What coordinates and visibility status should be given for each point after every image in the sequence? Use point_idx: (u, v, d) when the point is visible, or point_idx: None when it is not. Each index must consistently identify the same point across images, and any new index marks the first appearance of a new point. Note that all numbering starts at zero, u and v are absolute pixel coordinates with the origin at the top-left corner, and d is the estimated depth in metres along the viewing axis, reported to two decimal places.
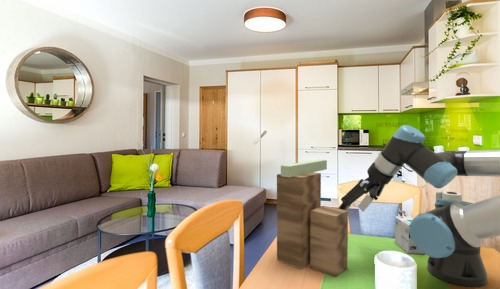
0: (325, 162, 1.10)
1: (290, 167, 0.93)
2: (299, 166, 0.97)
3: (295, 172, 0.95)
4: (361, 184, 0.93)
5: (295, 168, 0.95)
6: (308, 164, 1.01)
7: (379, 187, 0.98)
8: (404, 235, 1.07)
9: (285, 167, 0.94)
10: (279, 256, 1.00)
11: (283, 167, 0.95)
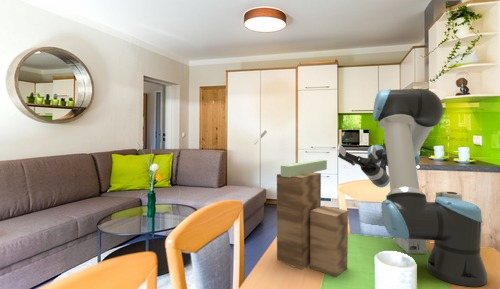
0: (325, 162, 1.10)
1: (290, 167, 0.93)
2: (299, 166, 0.97)
3: (295, 172, 0.95)
4: None
5: (295, 168, 0.95)
6: (308, 164, 1.01)
7: None
8: None
9: (285, 167, 0.94)
10: (279, 256, 1.00)
11: (283, 167, 0.95)
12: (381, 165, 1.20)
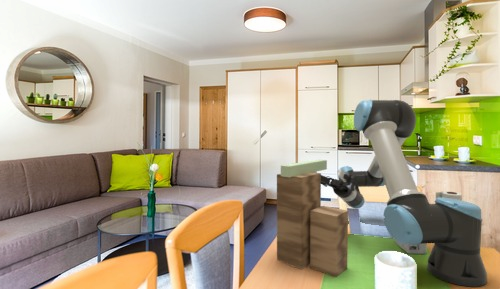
0: (325, 162, 1.10)
1: (290, 167, 0.93)
2: (299, 166, 0.97)
3: (295, 172, 0.95)
4: None
5: (295, 168, 0.95)
6: (308, 164, 1.01)
7: None
8: None
9: (285, 167, 0.94)
10: (279, 256, 1.00)
11: (283, 167, 0.95)
12: (351, 188, 1.17)
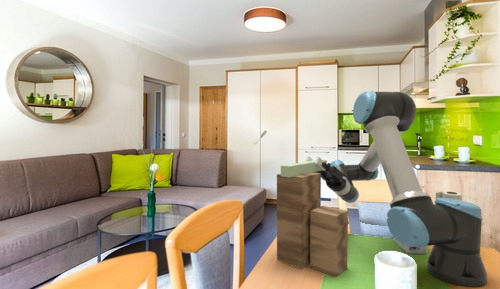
0: (325, 162, 1.10)
1: (290, 167, 0.93)
2: (299, 166, 0.97)
3: (295, 172, 0.95)
4: None
5: (295, 168, 0.95)
6: (308, 164, 1.01)
7: None
8: None
9: (285, 167, 0.94)
10: (279, 256, 1.00)
11: (283, 167, 0.95)
12: (339, 179, 1.11)
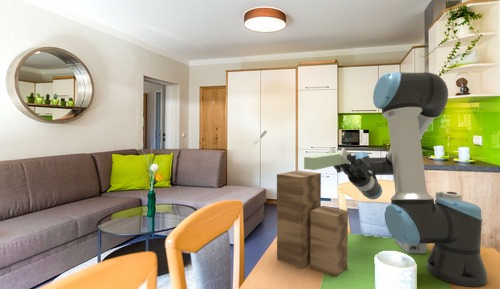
0: (350, 154, 1.00)
1: (315, 159, 0.84)
2: (324, 158, 0.87)
3: (320, 164, 0.85)
4: None
5: (320, 160, 0.85)
6: (333, 156, 0.91)
7: None
8: None
9: (309, 159, 0.84)
10: (279, 256, 1.00)
11: (307, 159, 0.85)
12: (365, 173, 1.01)
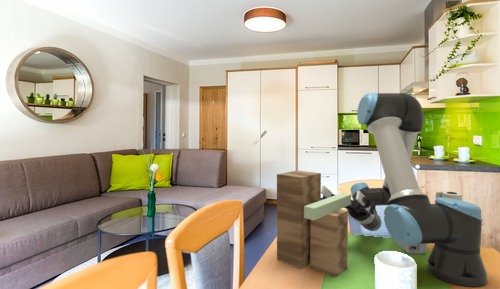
0: (349, 197, 1.00)
1: (315, 209, 0.84)
2: (324, 206, 0.88)
3: (319, 214, 0.86)
4: None
5: (320, 209, 0.86)
6: (333, 202, 0.92)
7: None
8: None
9: (309, 209, 0.85)
10: (279, 256, 1.00)
11: (307, 208, 0.86)
12: (371, 211, 1.02)
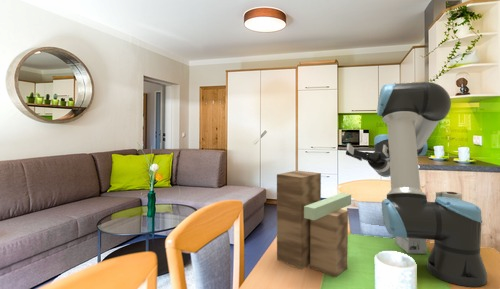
0: (349, 197, 1.00)
1: (315, 209, 0.84)
2: (324, 206, 0.88)
3: (319, 214, 0.86)
4: None
5: (320, 209, 0.86)
6: (333, 202, 0.92)
7: None
8: None
9: (309, 209, 0.85)
10: (279, 256, 1.00)
11: (307, 208, 0.86)
12: None
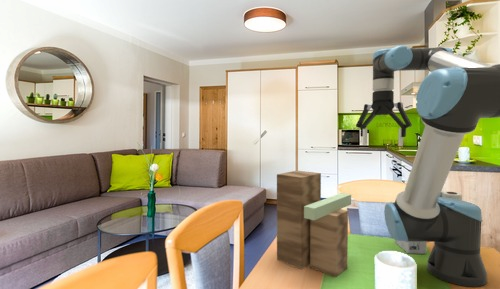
0: (349, 197, 1.00)
1: (315, 209, 0.84)
2: (324, 206, 0.88)
3: (319, 214, 0.86)
4: None
5: (320, 209, 0.86)
6: (333, 202, 0.92)
7: (388, 109, 1.10)
8: None
9: (309, 209, 0.85)
10: (279, 256, 1.00)
11: (307, 208, 0.86)
12: None
